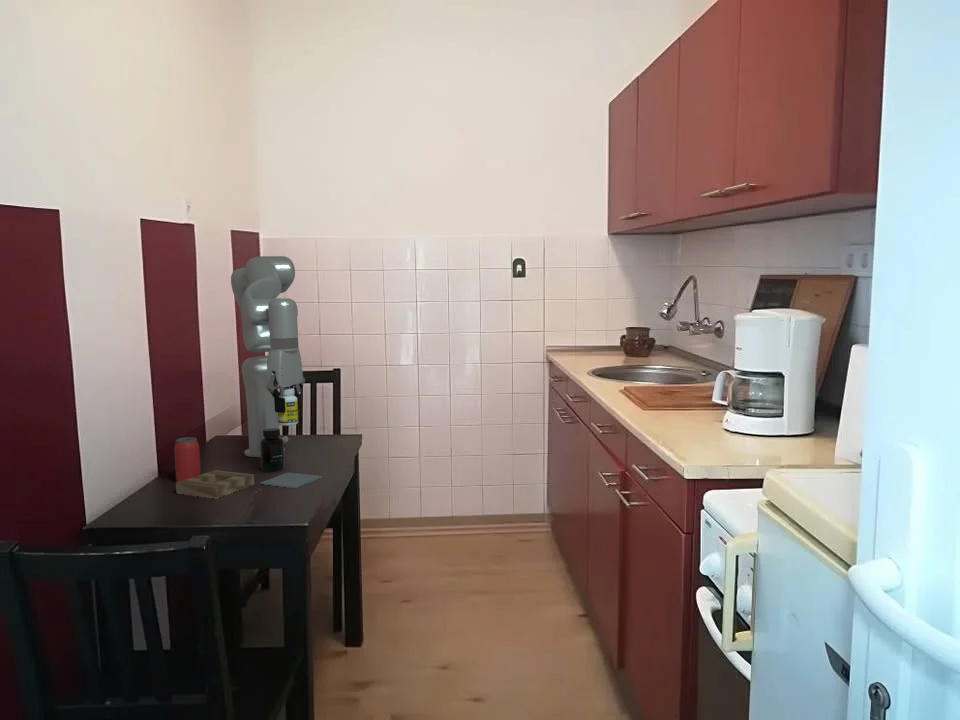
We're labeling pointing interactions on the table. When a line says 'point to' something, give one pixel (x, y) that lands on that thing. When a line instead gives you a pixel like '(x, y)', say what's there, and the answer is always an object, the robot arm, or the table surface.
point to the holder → (215, 484)
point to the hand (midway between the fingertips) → (287, 409)
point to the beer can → (187, 458)
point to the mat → (291, 480)
